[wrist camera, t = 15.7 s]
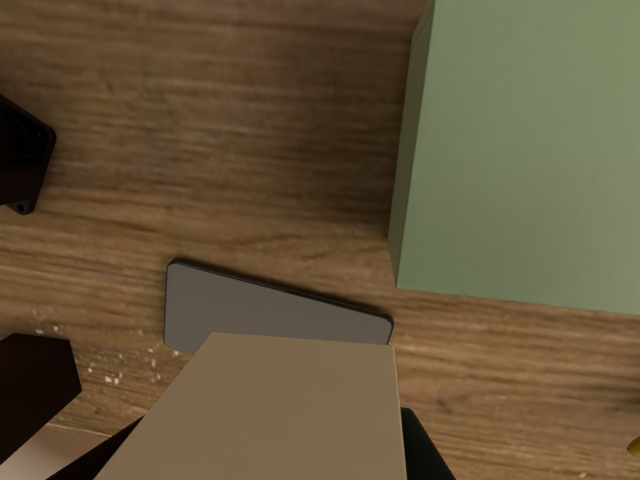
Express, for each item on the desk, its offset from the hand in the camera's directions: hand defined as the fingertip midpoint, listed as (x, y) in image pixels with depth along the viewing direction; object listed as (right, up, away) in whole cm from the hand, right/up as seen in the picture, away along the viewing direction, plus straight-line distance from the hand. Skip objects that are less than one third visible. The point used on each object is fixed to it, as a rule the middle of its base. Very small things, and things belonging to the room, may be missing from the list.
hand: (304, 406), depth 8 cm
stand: (-22, -6, +19) cm, 30 cm away
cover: (+10, +6, +4) cm, 13 cm away
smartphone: (-3, -2, +15) cm, 15 cm away
